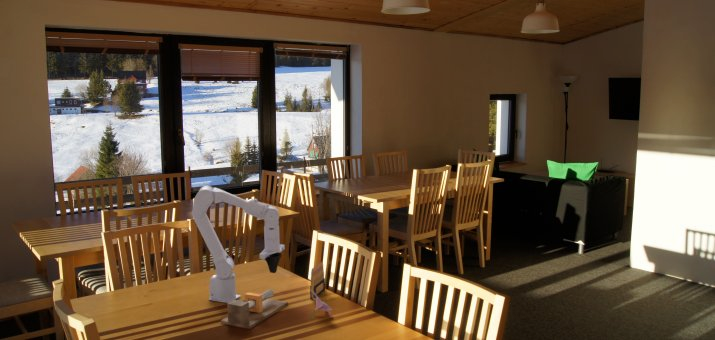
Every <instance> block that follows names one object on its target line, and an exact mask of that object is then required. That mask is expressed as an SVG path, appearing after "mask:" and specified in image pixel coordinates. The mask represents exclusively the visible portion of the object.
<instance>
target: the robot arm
mask: <svg viewBox="0 0 715 340" xmlns="http://www.w3.org/2000/svg"><path fill="white" fill-rule="evenodd" d="M213 202H214V204H218V203H222V202H223V203H226V204H229V205H232V206H235V207H238V208H241V209H243V211H244V213H245V214H247V215H249V216H252V217H255V218H257V219H260V220H261V219H263V221H264V226H263V231H264V232H263V235H264V236H263V237H264V249H263V250H262V251H261V252H260V253H259V259H260V260H264V261H265V262H266V264H267V268H268V270H269V273H272V274H275V273H277V270H278V266H279V262H280V259H281V258H282V252H283V251H284V250H285V249H286V248H285V246H286V245H285V244H281V243H280V242H281V241H280V240H281V239H280V225H279V224H280V222H279V221H280V220H279V219H280V213H279V210H278V208H277V207H275V206H274V205H270V204H268V203H264V202H260V201H258V198H250V199H244V198H241V197H239V196H237V195H235V194H232V193H230V192H227V191H225V190H224V189H221V188H218V187H216V186H215V187H213V186H211V185H208V184H207V185H203V186H201V187H200V188H199V190H198V192H197V193H196V195H195V196H194V198H193V204H192V209H191V210H192V211H191V216H192V218H193V220H194V222H195V225H196V227H197V228H198V230H199V233H200V235H201V237H202V238H203V240H204V243H205V245H206V247H207V249H208V251H209V253H210V255H211V257H212V261H213V264H214V266H215V274H214V275H212V276H211V277H210V280H209V284H208V285H209V298H208V300H209V301H214V302H219V303H226V304H228V303H229V302H231V301H233V300H238V299H239V298H241V295H240V294H237V292H236V291H237V289H236V288H237V287H236V274H235V272H234V270H233V269H234V266H235V262H234V259H233V258H232V257H231V256H229V254H228V253H227V252H228V251H226V250H225V249H224V247H223V244H222V243H221V241H220V239H219V237H218V235H217V233H216V230H215V229H214V227H213V224H212V222H211V221H210V219H209V217H208V216H209V215H207V211H208V209H209V207H210V206H211V205H212V204H213Z"/></svg>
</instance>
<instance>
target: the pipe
mask: <svg viewBox="0 0 715 340" xmlns="http://www.w3.org/2000/svg"><path fill="white" fill-rule="evenodd" d="M260 294H261V295H262V302H263V301H264V300H266V299H270V298H271V297H273V296H274V294H275V293H274V290H273V289H270V288H269V289H268V290H265V291H264V292H262V293H260ZM248 302H249V309H251V308H253V307H254V306H256V299H251V300H250V301H248Z"/></svg>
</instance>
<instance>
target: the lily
mask: <svg viewBox="0 0 715 340" xmlns="http://www.w3.org/2000/svg"><path fill="white" fill-rule="evenodd" d="M310 290H311V289H310V287H309V291H310ZM311 291H312V290H311ZM312 292H313V291H312ZM313 294H314V295H315V297H316V299H315V298H313V299H312V300H315V310H313V312H312V315H311V317H310V320H312V319H313V316H314V315H315V312H316V311H317V310H323V311H326V313H328V314H329V315H330V316H331V317H333V318H334V316H333V315H332V313H331V312H330V311H333V309H332V308H331V306H329V305H328V303H326V300H325V301H324V300H323V301H322V300H321V298H320V297H319V296H318V297H317V295H316V294H315V293H314V292H313Z"/></svg>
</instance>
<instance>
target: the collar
mask: <svg viewBox="0 0 715 340" xmlns="http://www.w3.org/2000/svg"><path fill="white" fill-rule="evenodd" d="M261 294H262V293H254V292H249V291H248V292H246V293H244V300H245V301H244V302H248V301H250V300H252V299H256V306H254V307H253V308H251V309H249V311H252V312H258V313H260V312H262V311H263V304H262V295H261Z"/></svg>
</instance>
